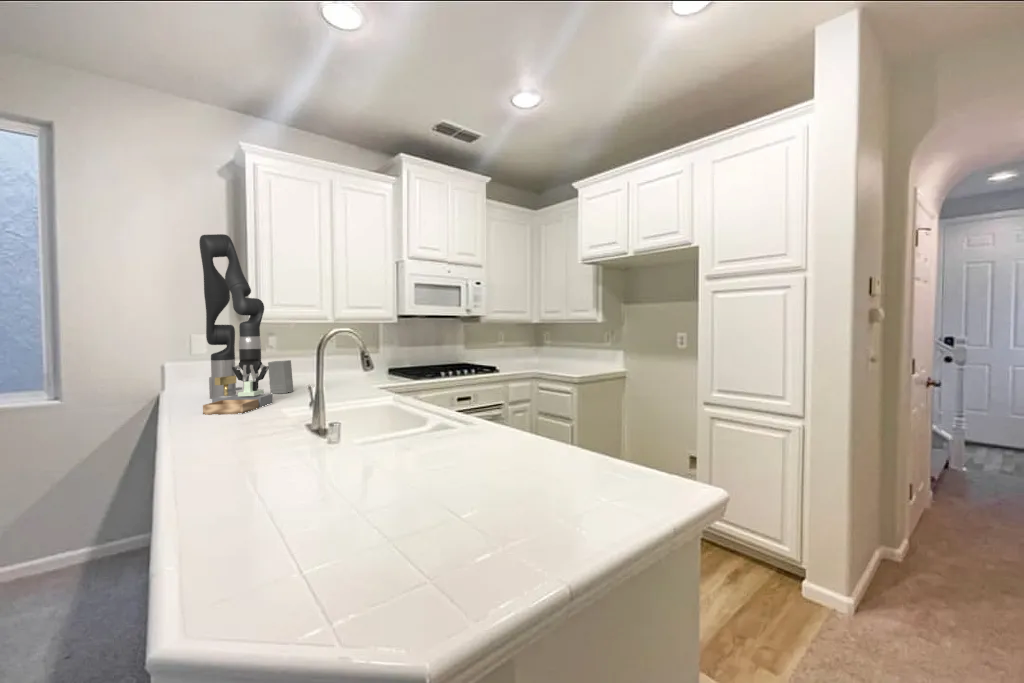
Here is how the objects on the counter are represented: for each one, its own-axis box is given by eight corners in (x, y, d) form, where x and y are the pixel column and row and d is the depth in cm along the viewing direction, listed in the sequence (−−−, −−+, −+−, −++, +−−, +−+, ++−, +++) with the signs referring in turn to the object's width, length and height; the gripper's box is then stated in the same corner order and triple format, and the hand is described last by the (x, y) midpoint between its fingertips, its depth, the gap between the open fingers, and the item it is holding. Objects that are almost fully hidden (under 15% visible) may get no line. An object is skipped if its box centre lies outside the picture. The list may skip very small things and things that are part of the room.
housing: (212, 408, 169) (212, 398, 169) (227, 404, 179) (226, 394, 179) (260, 407, 171) (260, 397, 171) (272, 403, 181) (272, 393, 181)
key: (220, 397, 170) (220, 377, 170) (215, 397, 171) (214, 377, 171) (243, 392, 182) (242, 374, 182) (238, 392, 182) (237, 374, 182)
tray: (203, 414, 157) (202, 405, 157) (221, 409, 169) (221, 400, 169) (242, 413, 158) (242, 404, 158) (258, 408, 170) (258, 399, 170)
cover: (237, 396, 171) (237, 382, 171) (248, 393, 179) (248, 380, 179) (253, 396, 172) (253, 382, 172) (263, 393, 180) (263, 379, 180)
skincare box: (293, 392, 217) (293, 360, 216) (284, 394, 209) (284, 361, 209) (277, 391, 217) (276, 360, 217) (268, 394, 210) (267, 361, 210)
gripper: (226, 348, 171) (227, 392, 171) (263, 348, 172) (264, 391, 172) (237, 347, 178) (238, 390, 179) (272, 347, 179) (273, 389, 180)
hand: (251, 390), depth 175 cm, fingers closed on cover, 2 cm apart
